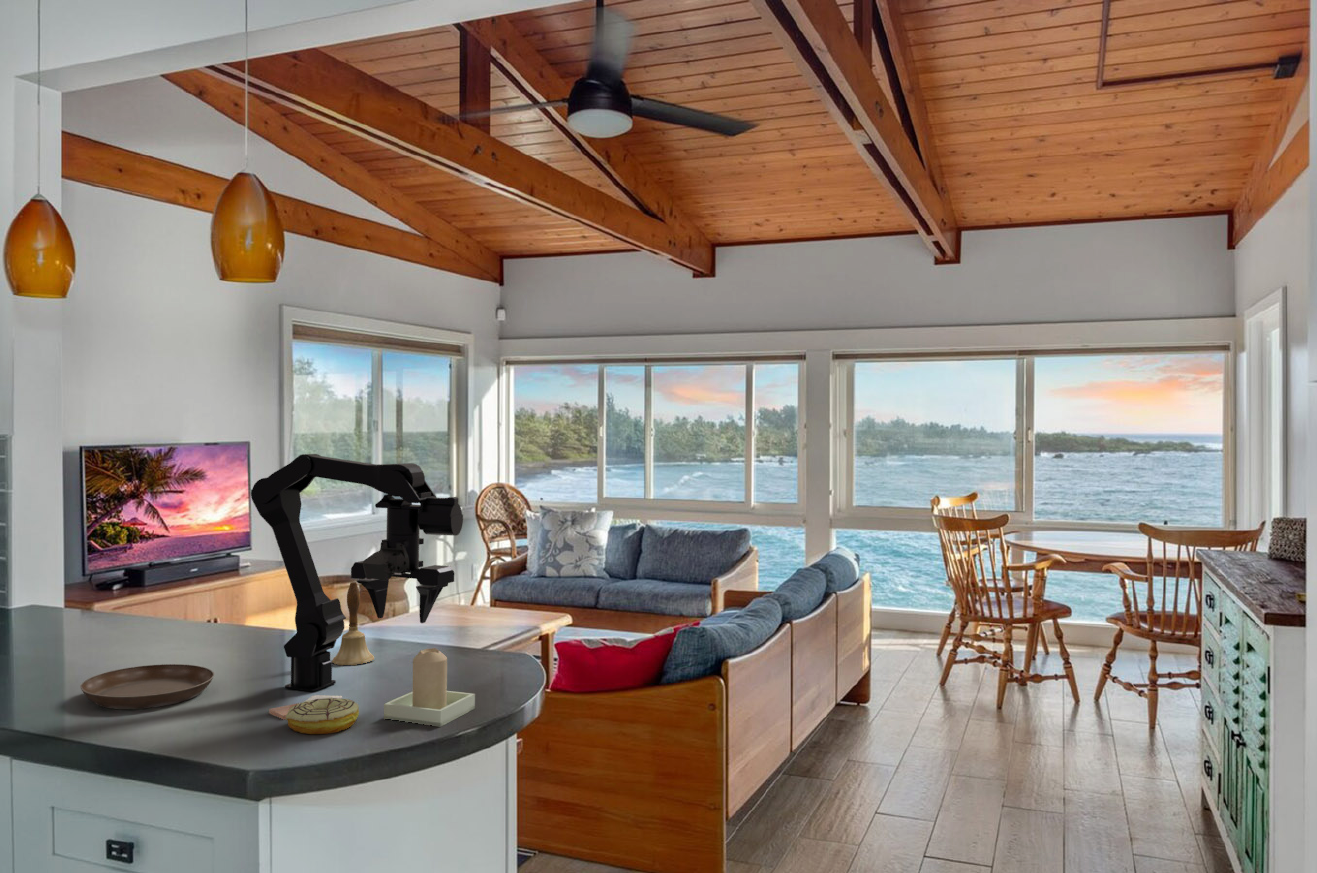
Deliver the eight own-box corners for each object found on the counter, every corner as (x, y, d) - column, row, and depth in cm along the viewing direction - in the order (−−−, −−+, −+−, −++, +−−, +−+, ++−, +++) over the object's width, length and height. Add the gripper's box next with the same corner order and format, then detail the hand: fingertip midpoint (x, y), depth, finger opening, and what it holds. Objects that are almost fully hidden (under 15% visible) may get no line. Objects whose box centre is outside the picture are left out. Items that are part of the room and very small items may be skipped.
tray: (383, 719, 154) (384, 704, 154) (420, 702, 164) (421, 687, 164) (440, 726, 151) (440, 711, 151) (474, 708, 161) (474, 694, 161)
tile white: (301, 710, 161) (301, 703, 161) (313, 702, 166) (313, 695, 166) (330, 711, 160) (330, 704, 160) (341, 702, 165) (342, 695, 165)
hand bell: (322, 663, 191) (323, 584, 191) (350, 654, 199) (351, 578, 198) (356, 667, 188) (357, 587, 188) (383, 658, 195) (384, 581, 195)
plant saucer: (232, 697, 167) (233, 679, 167) (100, 722, 152) (101, 702, 152) (190, 675, 181) (190, 658, 181) (65, 696, 167) (65, 677, 167)
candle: (444, 714, 155) (445, 653, 155) (410, 715, 155) (410, 654, 155) (448, 705, 161) (448, 646, 161) (414, 705, 160) (415, 646, 160)
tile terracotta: (269, 716, 157) (269, 709, 157) (298, 710, 161) (298, 703, 161) (283, 723, 154) (283, 715, 154) (312, 716, 157) (312, 709, 157)
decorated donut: (317, 714, 158) (317, 691, 158) (372, 721, 154) (372, 698, 154) (272, 732, 148) (272, 708, 148) (330, 740, 144) (330, 715, 144)
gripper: (330, 534, 167) (328, 623, 167) (419, 541, 160) (417, 634, 160) (371, 529, 177) (370, 612, 177) (456, 535, 170) (455, 622, 170)
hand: (401, 620), depth 171 cm, fingers open, 9 cm apart
